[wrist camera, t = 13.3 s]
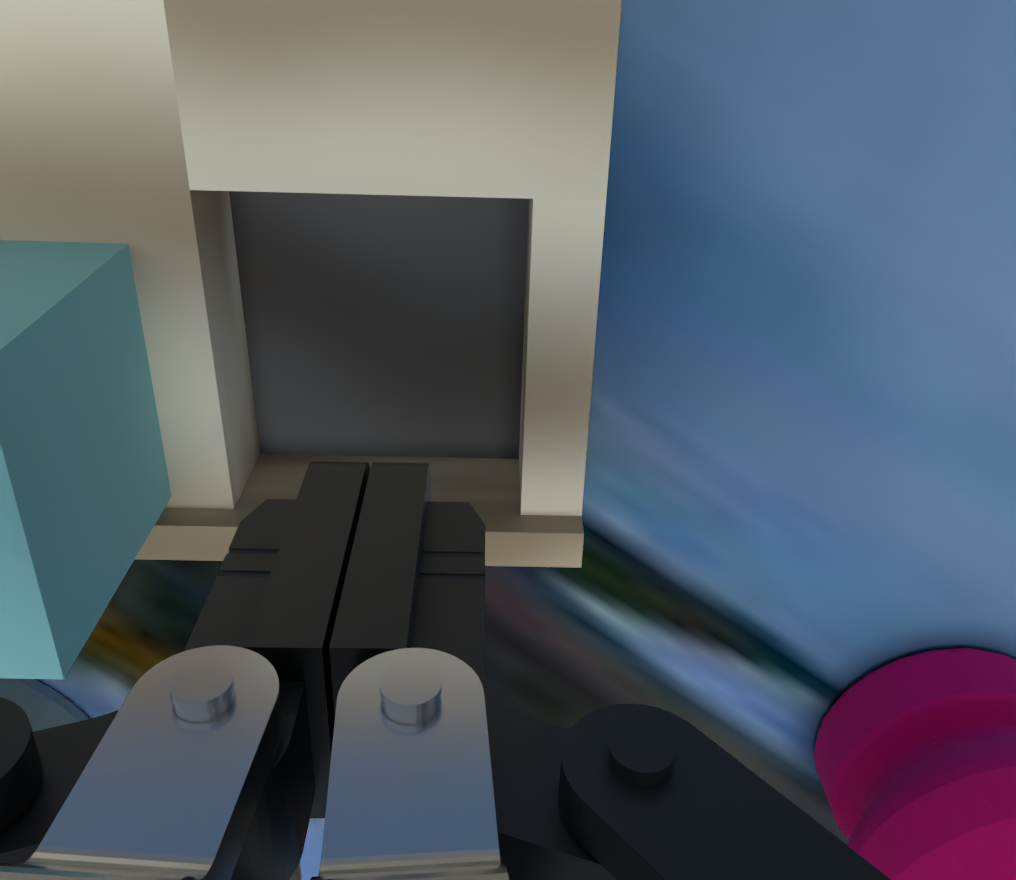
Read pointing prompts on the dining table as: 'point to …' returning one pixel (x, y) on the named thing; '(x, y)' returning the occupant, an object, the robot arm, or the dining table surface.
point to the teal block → (70, 446)
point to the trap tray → (336, 237)
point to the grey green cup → (40, 703)
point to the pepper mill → (927, 766)
